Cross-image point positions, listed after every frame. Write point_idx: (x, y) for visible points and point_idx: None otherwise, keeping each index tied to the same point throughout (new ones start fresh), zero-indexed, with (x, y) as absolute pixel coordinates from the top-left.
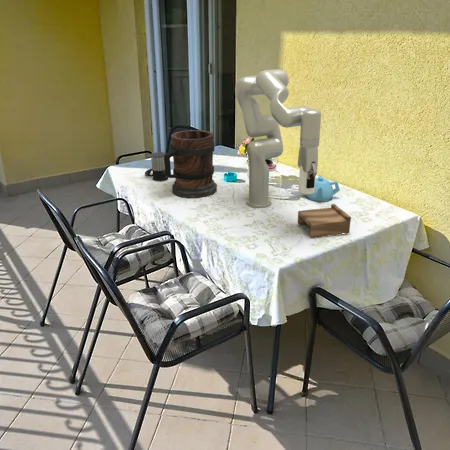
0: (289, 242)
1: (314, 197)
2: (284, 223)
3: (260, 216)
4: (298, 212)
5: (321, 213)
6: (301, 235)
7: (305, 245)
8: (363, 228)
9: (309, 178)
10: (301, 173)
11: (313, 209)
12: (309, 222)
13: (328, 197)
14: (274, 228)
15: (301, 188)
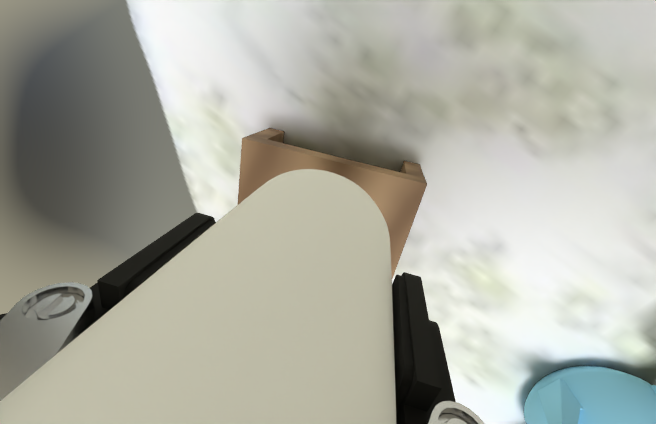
0: (268, 6)
1: (573, 378)
2: (458, 108)
3: (645, 24)
4: (421, 180)
5: None
6: (307, 106)
7: (221, 63)
8: None
9: (37, 298)
10: (157, 322)
11: (398, 259)
12: (274, 145)
13: (526, 409)
14: (440, 18)
15: (276, 185)
